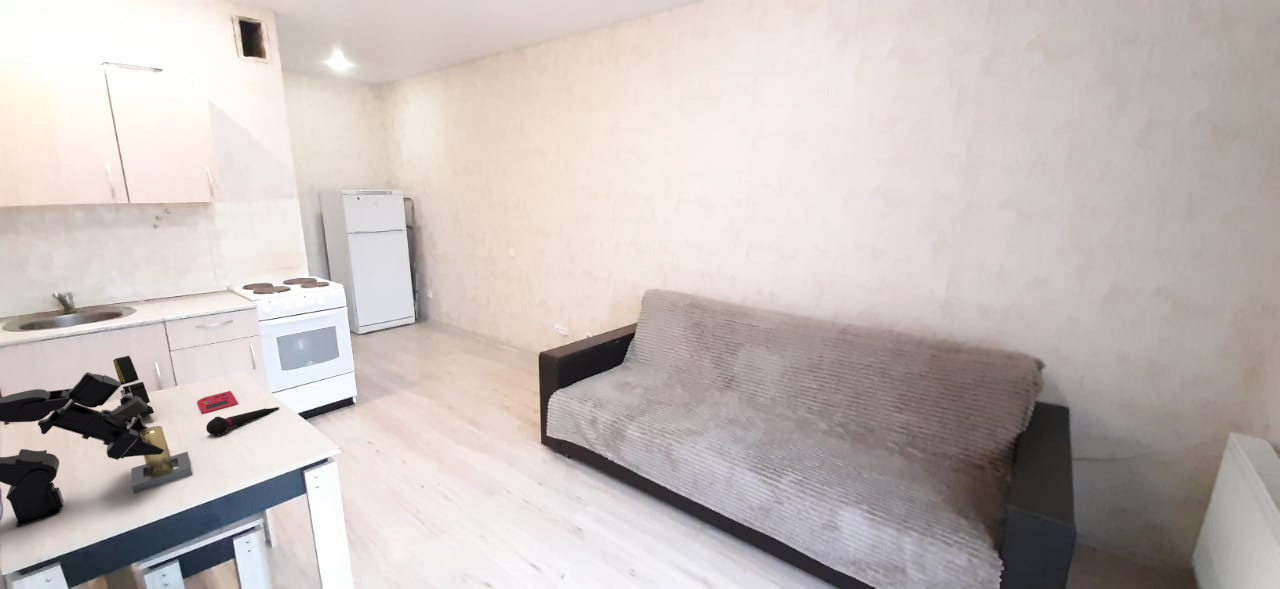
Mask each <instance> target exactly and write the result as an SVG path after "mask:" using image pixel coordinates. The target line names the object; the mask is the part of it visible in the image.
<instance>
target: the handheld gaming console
mask: <svg viewBox="0 0 1280 589" xmlns="http://www.w3.org/2000/svg"><path fill="white" fill-rule="evenodd" d="M196 403H197V407H198V409H199V412H200V413H201V415H205V414H210V413H213V412H215V411H217V412H218V411H221V410H224V409H227V408H232V407H234V406H237V405H239V403H238V400H237V399H236V397H235V395H234V394H233V393H232V391H231V390H228V391H224V392H221V393H217V394H213V395H209V396H204V397H202V398H200V399H198V400H197V401H196Z"/></svg>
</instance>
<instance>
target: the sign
mask: <svg viewBox="0 0 1280 589" xmlns="http://www.w3.org/2000/svg"><path fill="white" fill-rule="evenodd" d="M112 362H113V366H114V369H115V372H116V376H117V378H118V381H119V382H120V383H121V384H122V385H121V386H123V385H124V386H123V387H122V389H121V390H120V395H121V398H123V397H124V396H126V395H128V396H132V397H134V396H138V397H141V400H143V401H144V402H145V403H146V404H147V405H148V406H147V408H148V409H147V410H146V411H145V412H143V413H142V414H139V415H140V416H141V418H142V417H146V416H148V415H152V414H154V413H155V411H154V409H153V407H152V406H151V405H149V403H150V402H151V400H150V398H149V394H148V392H147V388H146V386H145V383H144V382H143V381H140V382H137V381H139V376H138V373H137V370H136V368H135V365H134V362H133V360H132V359H131V356H130V355H125V356H122V357H117V358H114V359H113V360H112ZM135 382H137V383H135ZM131 383H132V384H131ZM127 384H129V385H127ZM139 415H138V416H139ZM138 416H137V417H138ZM137 417H134V418H135V419H136V418H137Z"/></svg>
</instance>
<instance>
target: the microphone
mask: <svg viewBox="0 0 1280 589" xmlns="http://www.w3.org/2000/svg"><path fill="white" fill-rule="evenodd" d="M278 410H280V407H279V406H278V407H277V406H276V407H271V408H261V409H258V410H257V409H256V410H254V411H252V410H251V411H250V412H245V413H241V414H237V415H236V414H235V415H233V416H228V417H226V418H225V417H221V416H215V417H214V418H212V419H210V420H209V421H208V422H207V423H206V424H207V425H206V428H205V429H206V432H207V433H208V434H209V435H212V436H222V435H224V434H226V433H227V431H228V430H229V429H233V428H235V427H241V426H243V425H246V424H247V423H250V422H253V421H255V420H258V419H261V418H262V417H265V416H268V415H270V414H271V413H274V412H275V411H278Z"/></svg>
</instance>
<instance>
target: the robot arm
mask: <svg viewBox="0 0 1280 589" xmlns="http://www.w3.org/2000/svg"><path fill="white" fill-rule="evenodd" d="M121 386H123V385H122V384H121V383H120V381H119V380H117V379H115V378H113V377H111V376H108V375H105V374H104V375H102V374H99V373H98V374H97V373H91V372H88V371H87V372H86V373H84V374H83V375H82V377H81V379H80V380H79V381H78V382H77V383H76V384H75V385H73V387H72V388H66V389H58V390H56V389H55V390H50V391H49V390H48V391H47V390H45V389H41V388H40V389H39V388H37V389H30V390H24V391H21V392H16V393H12V394H8V395H5V396H2V397H0V422H2V423H3V422H4V423H31V422H37V421H38V422H37V426H39V428H40V432H41V434H42V435H45V434H48V432H49V431H50V430H51V429H52V427H53V428H54V427H55V428H58V429H62V430H65V431H68V432H72V433H75V434H77V435H82V436H81V438H82V439H85V440H88V439H89V438H91V439H95V440H97V441H102V442H103V445H104V446H107V447H106V455H107V458H110V459H113V460H117V461H118V460H119V459H124V458H131V457H132V458H133V457H139V456H141V457H143V456H144V455H157V454H162V453H163V451H164V450H163V449H161V448H160V447H158V446H156V445H153V444H151V443H149V442H147V441H145V440H143V438H142V435H141V432H140V431H141V430H144V429H146V428H149V427H148V426H147V425H145V424H144V423H143V420H142V417H141V416H140V415H139V414H142V413H143V412H145V411H146V410H147V409H148V408H147V406H149V404H148V403H147V404H148V405H147V404H146V403H145V402H144V401H143V400H141V397H138V396H134V397H132V396H128V395H126V396H124V397H123V398H122V397H121V398H120V400H119V402H120V404H119V405H118V406H116V408H115V409H113V410H109V409H102V410H101V411H99V410H96V409H93V408H97V407H101V406H102V407H103V405H105V404H106V402H108V401H109V399H110V398H111V397H112V396H113V394H114V393H115V392H117V391H118V390H119V388H120V387H121ZM138 415H139V416H138ZM47 416H48V417H47ZM137 416H138V417H137ZM135 417H137V418H135ZM134 418H135V419H134ZM138 432H139V434H138ZM59 466H60V459H59V458H58V457H57V456H56V455H55V454H53V453H48V450H45V449H44V450H33V449H31V450H30V449H25V448H21V449H20V450H19V452H18V454H16V455H10V456H1V457H0V483H1V484H5V485H8V486H9V489H8V490H7V491H8V492H7V495H6V496H5V499H7V500H8V501H9V502H10V505H11V508H12V510H13V514H14V516H15V519H16V524H15V526H16V528H17V527H21V526H24V525H25V526H26V525H27V524H32V523H34V522H37V521H39V520H44V519H47V518H49V517H53V516H55V515H58V514H60V513H61V509H62V508H63V506H64V503H65V502H64V501H65V500H64V498H63V495H62V493H61V489H60V487H58V486H57V487H56V486H55V484H54V482H53V481H54V480H55V478H56V477H57V474H58V469H59Z"/></svg>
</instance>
